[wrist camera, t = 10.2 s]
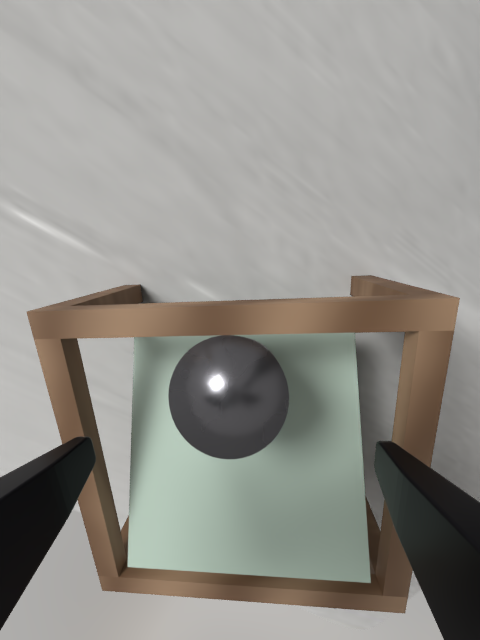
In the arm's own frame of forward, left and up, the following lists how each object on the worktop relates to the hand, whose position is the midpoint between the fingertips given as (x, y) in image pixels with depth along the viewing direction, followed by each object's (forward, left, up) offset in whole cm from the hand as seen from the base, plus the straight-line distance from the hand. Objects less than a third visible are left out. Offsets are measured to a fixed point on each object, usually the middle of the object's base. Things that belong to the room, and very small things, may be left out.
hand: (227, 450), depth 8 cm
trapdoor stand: (0, +5, -12) cm, 13 cm away
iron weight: (0, +2, -8) cm, 8 cm away
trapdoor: (0, +6, -7) cm, 9 cm away
